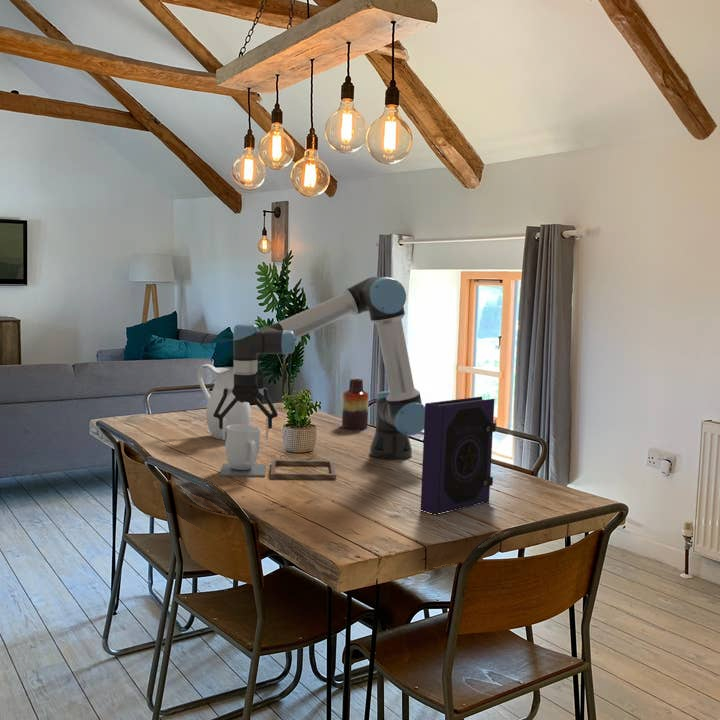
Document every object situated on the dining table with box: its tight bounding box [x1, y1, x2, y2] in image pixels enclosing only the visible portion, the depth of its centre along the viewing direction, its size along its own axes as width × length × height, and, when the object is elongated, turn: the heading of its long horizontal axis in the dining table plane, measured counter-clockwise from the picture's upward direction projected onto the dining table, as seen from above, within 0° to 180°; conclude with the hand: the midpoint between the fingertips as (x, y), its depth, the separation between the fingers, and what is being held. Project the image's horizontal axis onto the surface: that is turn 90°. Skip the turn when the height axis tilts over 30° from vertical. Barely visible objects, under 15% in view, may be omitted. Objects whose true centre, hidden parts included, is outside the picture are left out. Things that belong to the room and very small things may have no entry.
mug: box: [224, 424, 262, 470], centre depth 246 cm, size 15×11×13 cm
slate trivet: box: [219, 463, 267, 478], centre depth 248 cm, size 14×14×1 cm
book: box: [420, 396, 497, 514], centre depth 216 cm, size 24×6×30 cm, turn 132°
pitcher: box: [196, 363, 251, 441], centre depth 299 cm, size 24×17×28 cm
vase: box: [341, 378, 370, 431], centre depth 326 cm, size 11×11×20 cm
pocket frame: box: [270, 459, 337, 480], centre depth 250 cm, size 20×18×2 cm
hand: (245, 438), depth 247 cm, fingers open, 13 cm apart
